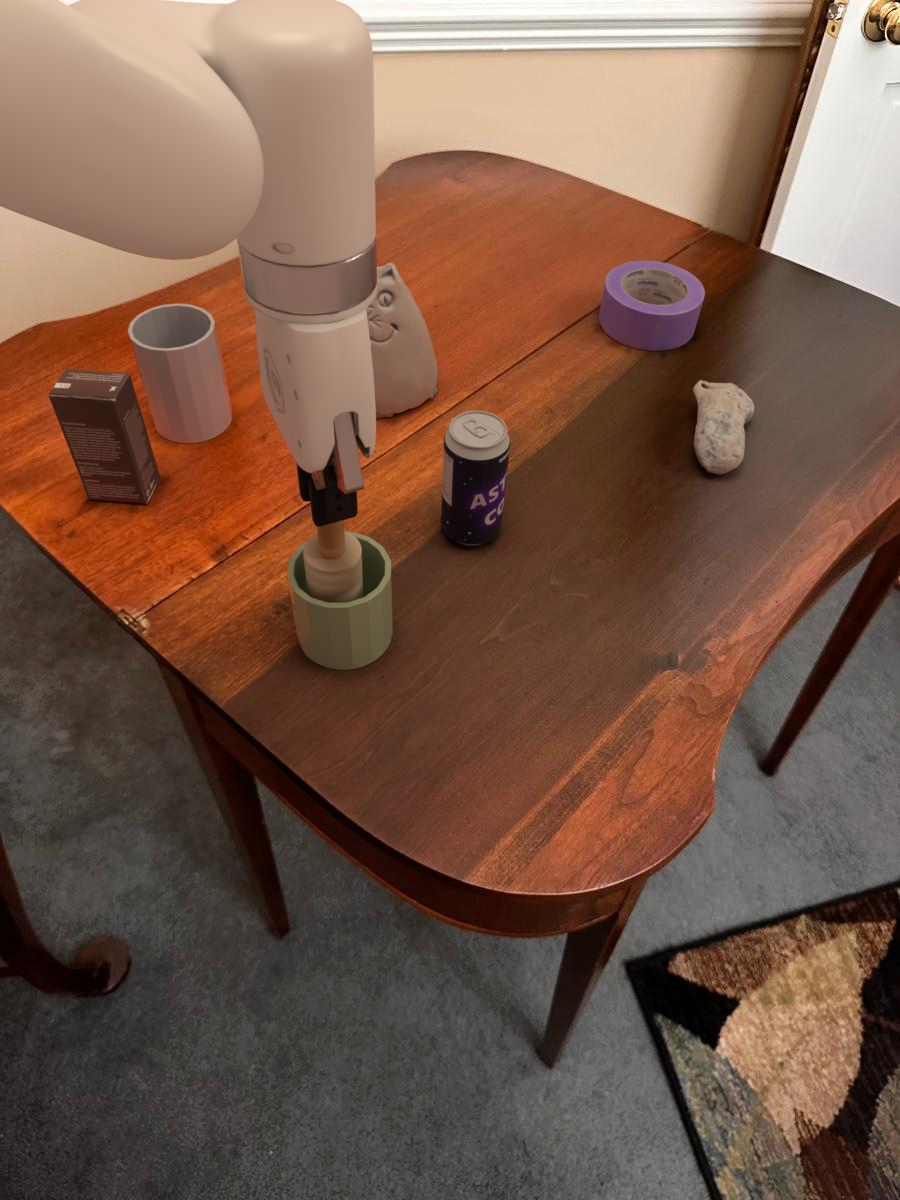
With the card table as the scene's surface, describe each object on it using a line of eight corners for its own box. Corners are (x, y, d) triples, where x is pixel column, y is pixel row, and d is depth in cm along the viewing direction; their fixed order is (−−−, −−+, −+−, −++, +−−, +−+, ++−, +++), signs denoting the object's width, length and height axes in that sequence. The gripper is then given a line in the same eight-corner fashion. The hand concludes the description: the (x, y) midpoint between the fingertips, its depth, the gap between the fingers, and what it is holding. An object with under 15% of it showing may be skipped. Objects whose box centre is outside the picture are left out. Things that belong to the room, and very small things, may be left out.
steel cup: (163, 451, 88) (137, 358, 79) (147, 405, 93) (120, 312, 84) (241, 432, 90) (223, 340, 82) (221, 388, 95) (202, 296, 86)
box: (162, 474, 86) (131, 371, 76) (147, 506, 83) (114, 402, 73) (102, 469, 86) (64, 365, 77) (85, 500, 83) (44, 396, 74)
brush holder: (315, 682, 70) (306, 620, 64) (285, 612, 75) (274, 547, 69) (407, 651, 72) (406, 588, 66) (372, 585, 77) (369, 520, 71)
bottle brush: (319, 629, 68) (302, 473, 56) (301, 590, 71) (282, 433, 59) (371, 613, 70) (366, 458, 58) (352, 575, 72) (344, 419, 60)
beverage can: (467, 560, 79) (474, 459, 70) (428, 525, 82) (430, 424, 73) (512, 533, 82) (525, 432, 73) (473, 500, 85) (481, 399, 75)
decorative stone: (755, 486, 87) (771, 447, 83) (688, 478, 88) (701, 438, 84) (746, 406, 96) (761, 367, 92) (685, 399, 96) (697, 360, 92)
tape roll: (697, 355, 102) (708, 317, 98) (598, 346, 103) (605, 308, 99) (691, 302, 110) (701, 264, 106) (598, 293, 110) (605, 256, 106)
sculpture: (335, 430, 91) (324, 300, 79) (308, 367, 98) (294, 239, 86) (451, 407, 94) (456, 279, 83) (416, 347, 101) (416, 221, 90)
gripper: (207, 211, 52) (247, 452, 66) (287, 354, 43) (314, 599, 57) (326, 193, 54) (341, 430, 68) (427, 326, 45) (420, 568, 59)
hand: (328, 505), depth 62 cm, fingers closed on bottle brush, 2 cm apart
